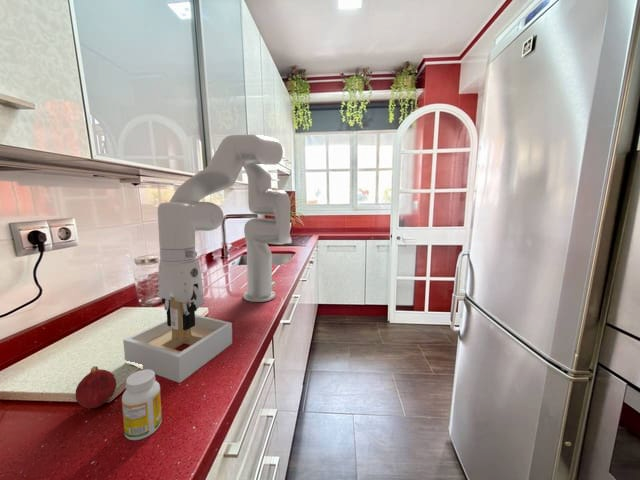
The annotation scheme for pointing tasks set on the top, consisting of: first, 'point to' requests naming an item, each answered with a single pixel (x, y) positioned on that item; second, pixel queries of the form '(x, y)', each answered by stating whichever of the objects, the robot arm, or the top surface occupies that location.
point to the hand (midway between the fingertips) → (181, 325)
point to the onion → (95, 388)
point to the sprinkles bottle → (178, 320)
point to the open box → (159, 347)
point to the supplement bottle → (141, 405)
